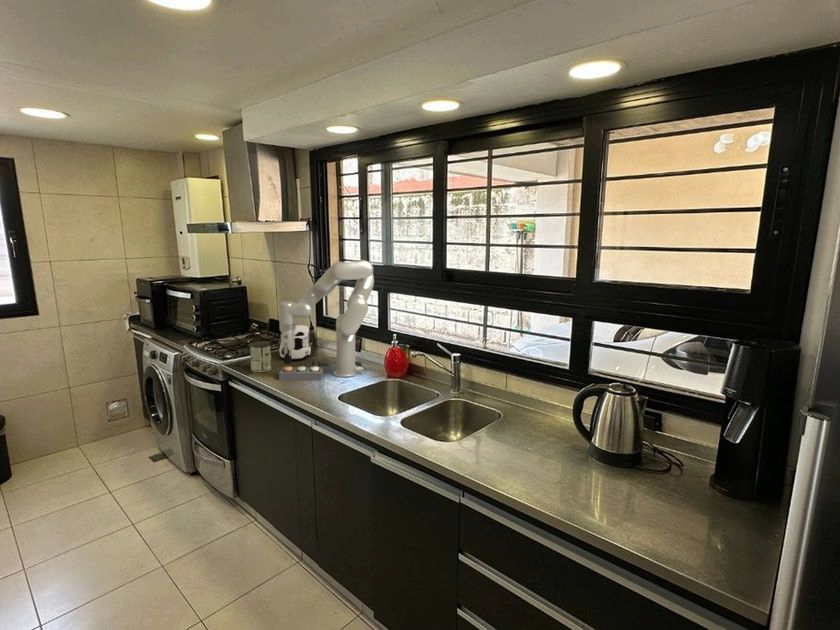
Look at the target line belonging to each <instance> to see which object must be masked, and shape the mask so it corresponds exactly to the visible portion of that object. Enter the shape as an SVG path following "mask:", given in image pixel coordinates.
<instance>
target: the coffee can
mask: <svg viewBox="0 0 840 630" xmlns="http://www.w3.org/2000/svg"><path fill="white" fill-rule="evenodd" d="M249 349H250V351H249V352H250V370H251V372H254V373H264V372H269V371H271V370H272V342H270V341H267V340H257V341H253V342H250V343H249Z"/></svg>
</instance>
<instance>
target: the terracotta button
mask: <svg viewBox="0 0 840 630" xmlns="http://www.w3.org/2000/svg"><path fill="white" fill-rule="evenodd" d="M283 367H284V372H292V367H293V366H291V365H288V366H287V365H286V366H283Z"/></svg>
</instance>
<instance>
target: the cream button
mask: <svg viewBox="0 0 840 630" xmlns="http://www.w3.org/2000/svg"><path fill="white" fill-rule="evenodd" d="M310 367H311V372H319V366H317V365H315V366H310Z"/></svg>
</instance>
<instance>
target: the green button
mask: <svg viewBox="0 0 840 630" xmlns="http://www.w3.org/2000/svg"><path fill="white" fill-rule="evenodd" d="M296 367H297V366H296ZM297 371H298V372H306V366H304V365H302V366H301V365H300V366H298V367H297Z"/></svg>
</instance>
